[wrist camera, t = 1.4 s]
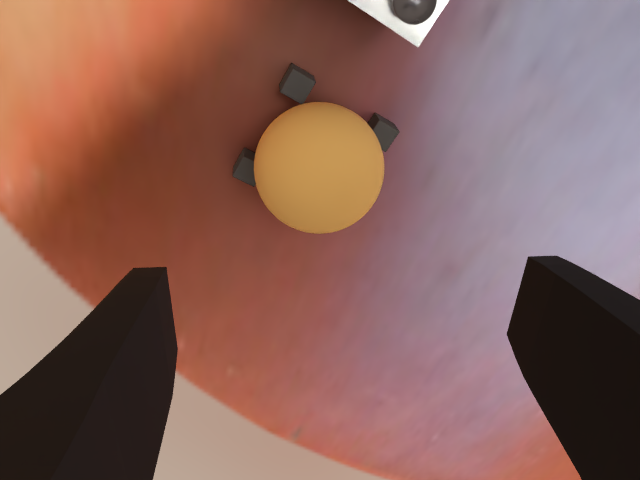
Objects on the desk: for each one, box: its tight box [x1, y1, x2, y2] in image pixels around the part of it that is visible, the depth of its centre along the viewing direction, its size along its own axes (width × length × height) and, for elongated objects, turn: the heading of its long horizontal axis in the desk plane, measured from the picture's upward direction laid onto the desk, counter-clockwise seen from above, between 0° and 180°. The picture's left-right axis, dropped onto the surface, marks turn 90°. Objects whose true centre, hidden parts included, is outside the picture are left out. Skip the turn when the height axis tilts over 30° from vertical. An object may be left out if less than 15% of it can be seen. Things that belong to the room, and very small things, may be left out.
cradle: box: [233, 63, 399, 187], centre depth 18 cm, size 4×4×1 cm
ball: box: [254, 102, 384, 234], centre depth 16 cm, size 4×4×4 cm
